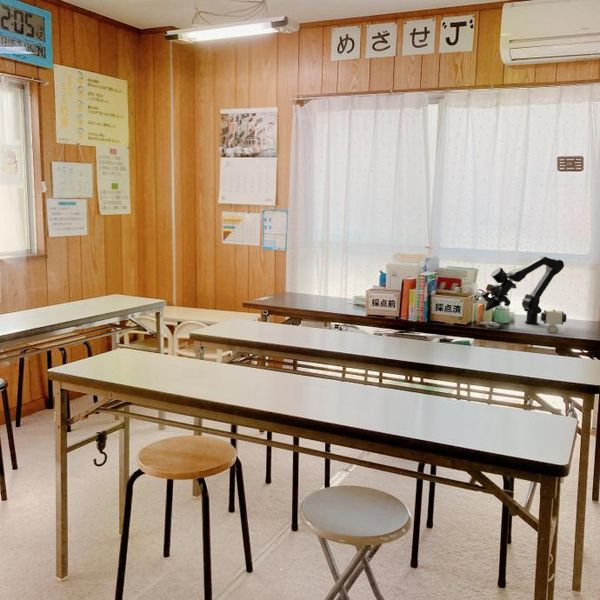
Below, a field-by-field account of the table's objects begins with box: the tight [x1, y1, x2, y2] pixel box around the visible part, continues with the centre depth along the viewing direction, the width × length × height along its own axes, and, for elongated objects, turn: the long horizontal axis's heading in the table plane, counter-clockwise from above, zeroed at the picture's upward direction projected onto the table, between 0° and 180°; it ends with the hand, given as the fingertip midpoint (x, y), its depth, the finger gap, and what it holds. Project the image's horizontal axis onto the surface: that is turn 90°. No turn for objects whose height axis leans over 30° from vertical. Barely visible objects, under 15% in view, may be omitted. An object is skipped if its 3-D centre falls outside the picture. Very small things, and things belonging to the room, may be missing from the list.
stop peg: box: [497, 322, 504, 329], centre depth 329 cm, size 3×3×3 cm
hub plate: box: [484, 324, 500, 330], centre depth 330 cm, size 7×7×1 cm
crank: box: [476, 303, 500, 327], centre depth 331 cm, size 13×4×11 cm, turn 38°
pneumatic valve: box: [540, 308, 567, 333], centre depth 320 cm, size 6×12×12 cm, turn 76°
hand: (485, 310), depth 336 cm, fingers closed
